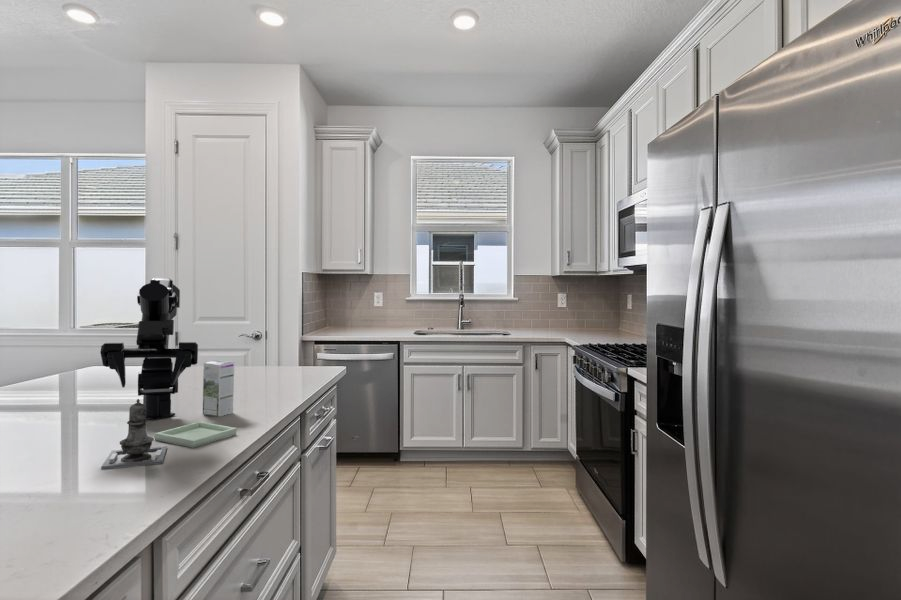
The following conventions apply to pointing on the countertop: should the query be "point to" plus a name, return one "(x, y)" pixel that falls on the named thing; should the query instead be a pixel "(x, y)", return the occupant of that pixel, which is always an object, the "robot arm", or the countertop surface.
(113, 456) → the socket
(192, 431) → the tray
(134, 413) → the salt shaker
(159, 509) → the countertop surface
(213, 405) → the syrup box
